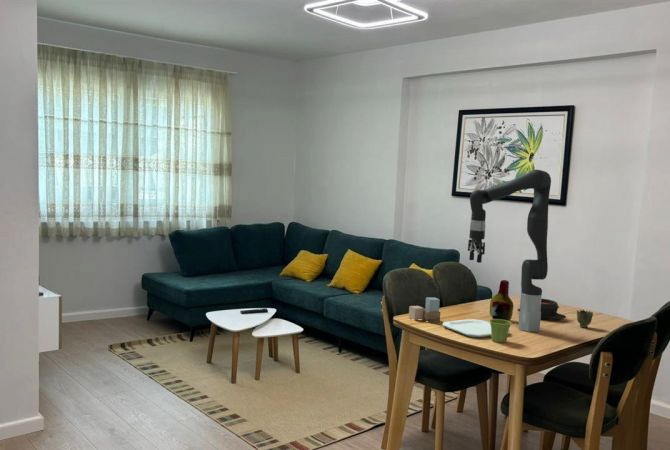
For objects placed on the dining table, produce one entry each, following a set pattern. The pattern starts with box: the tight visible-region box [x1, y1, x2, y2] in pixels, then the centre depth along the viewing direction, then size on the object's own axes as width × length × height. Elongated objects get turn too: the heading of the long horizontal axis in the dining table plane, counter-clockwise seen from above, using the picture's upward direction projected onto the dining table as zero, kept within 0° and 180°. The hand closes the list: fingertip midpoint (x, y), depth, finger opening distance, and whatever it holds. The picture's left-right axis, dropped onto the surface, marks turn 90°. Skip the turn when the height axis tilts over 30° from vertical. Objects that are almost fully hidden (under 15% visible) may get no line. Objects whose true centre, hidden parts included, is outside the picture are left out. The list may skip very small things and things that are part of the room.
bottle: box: [489, 279, 514, 321], centre depth 304 cm, size 12×6×20 cm, turn 46°
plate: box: [442, 318, 510, 339], centre depth 279 cm, size 25×25×2 cm
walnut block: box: [422, 308, 441, 323], centre depth 294 cm, size 7×7×5 cm
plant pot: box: [488, 318, 513, 344], centre depth 262 cm, size 9×9×9 cm
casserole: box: [516, 298, 567, 320], centre depth 316 cm, size 25×19×8 cm
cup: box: [576, 309, 594, 329], centre depth 297 cm, size 8×7×8 cm
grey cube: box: [424, 296, 441, 312], centre depth 294 cm, size 5×5×6 cm
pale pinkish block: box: [408, 305, 425, 321], centre depth 295 cm, size 5×5×6 cm
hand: (475, 261), depth 308 cm, fingers open, 8 cm apart
